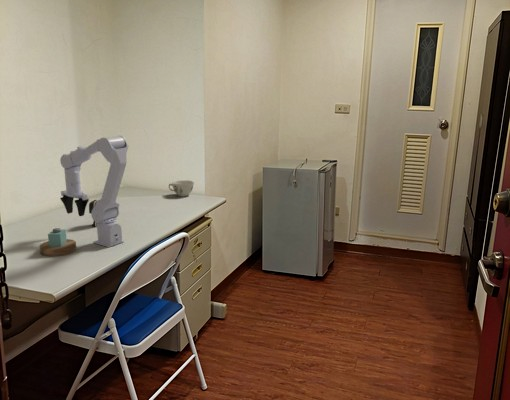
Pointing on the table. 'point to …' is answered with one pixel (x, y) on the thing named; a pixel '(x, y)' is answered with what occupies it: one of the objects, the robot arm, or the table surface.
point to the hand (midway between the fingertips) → (75, 214)
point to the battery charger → (91, 206)
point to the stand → (58, 248)
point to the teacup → (182, 187)
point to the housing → (57, 237)
